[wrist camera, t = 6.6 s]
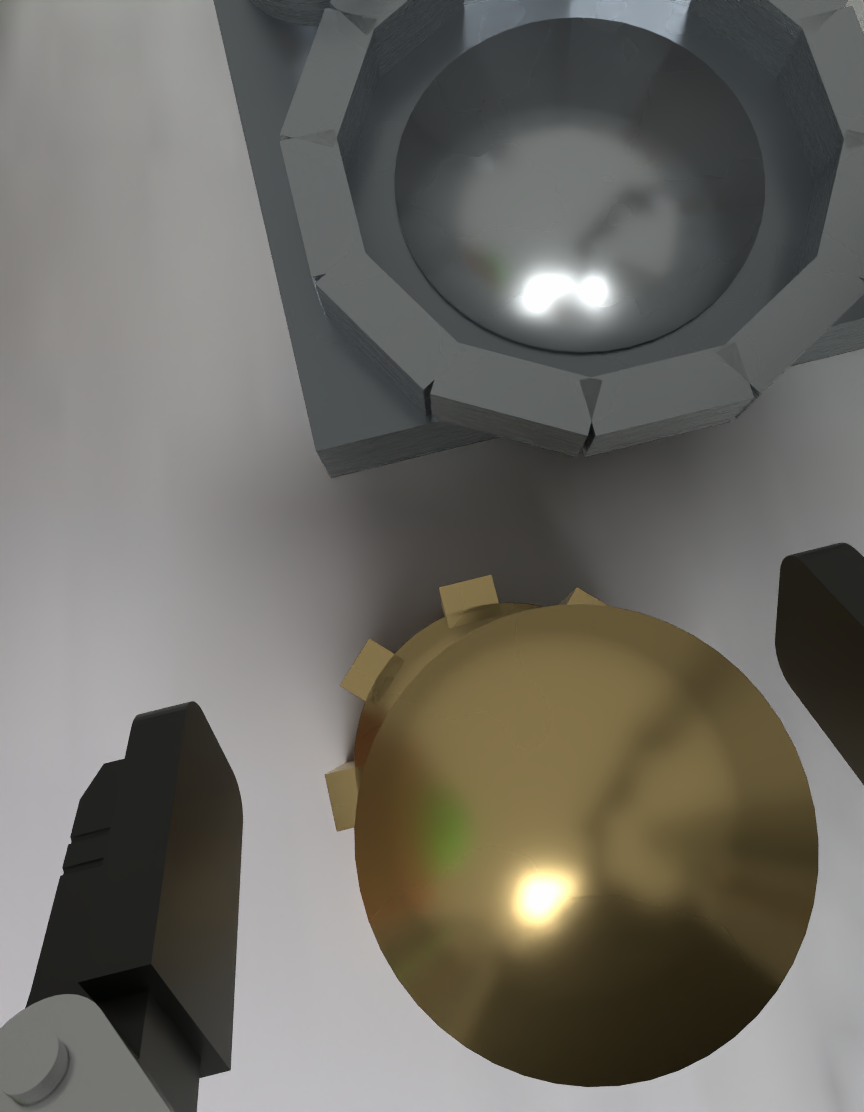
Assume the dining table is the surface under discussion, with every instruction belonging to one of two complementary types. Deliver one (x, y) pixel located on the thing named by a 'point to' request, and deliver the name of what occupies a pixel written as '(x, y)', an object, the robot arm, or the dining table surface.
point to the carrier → (551, 211)
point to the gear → (576, 835)
